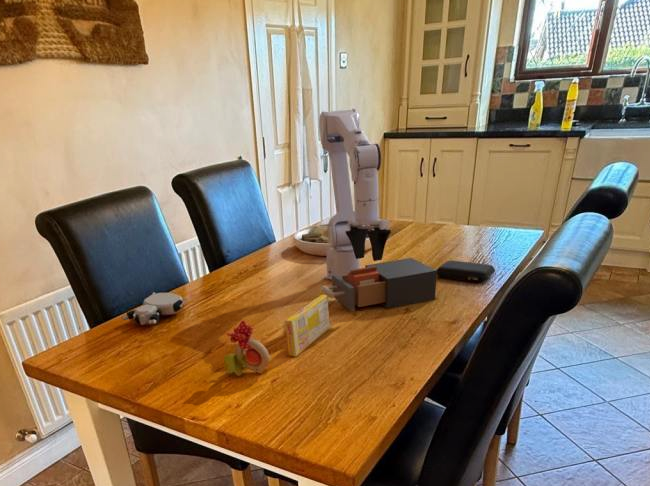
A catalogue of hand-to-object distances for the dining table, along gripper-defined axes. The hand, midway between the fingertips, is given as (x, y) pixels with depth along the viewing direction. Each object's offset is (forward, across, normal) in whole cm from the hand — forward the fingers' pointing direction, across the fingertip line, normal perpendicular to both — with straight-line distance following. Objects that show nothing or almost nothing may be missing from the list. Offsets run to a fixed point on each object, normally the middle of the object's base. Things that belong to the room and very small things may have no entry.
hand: (368, 259), depth 128 cm
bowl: (+3, -53, +23) cm, 58 cm away
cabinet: (+11, 0, +10) cm, 15 cm away
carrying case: (+10, -1, +33) cm, 34 cm away
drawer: (+10, -3, -3) cm, 11 cm away
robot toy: (+10, -26, -49) cm, 57 cm away
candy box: (+14, +10, -24) cm, 29 cm away
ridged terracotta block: (+9, -2, -1) cm, 9 cm away
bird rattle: (+16, +16, -41) cm, 46 cm away
